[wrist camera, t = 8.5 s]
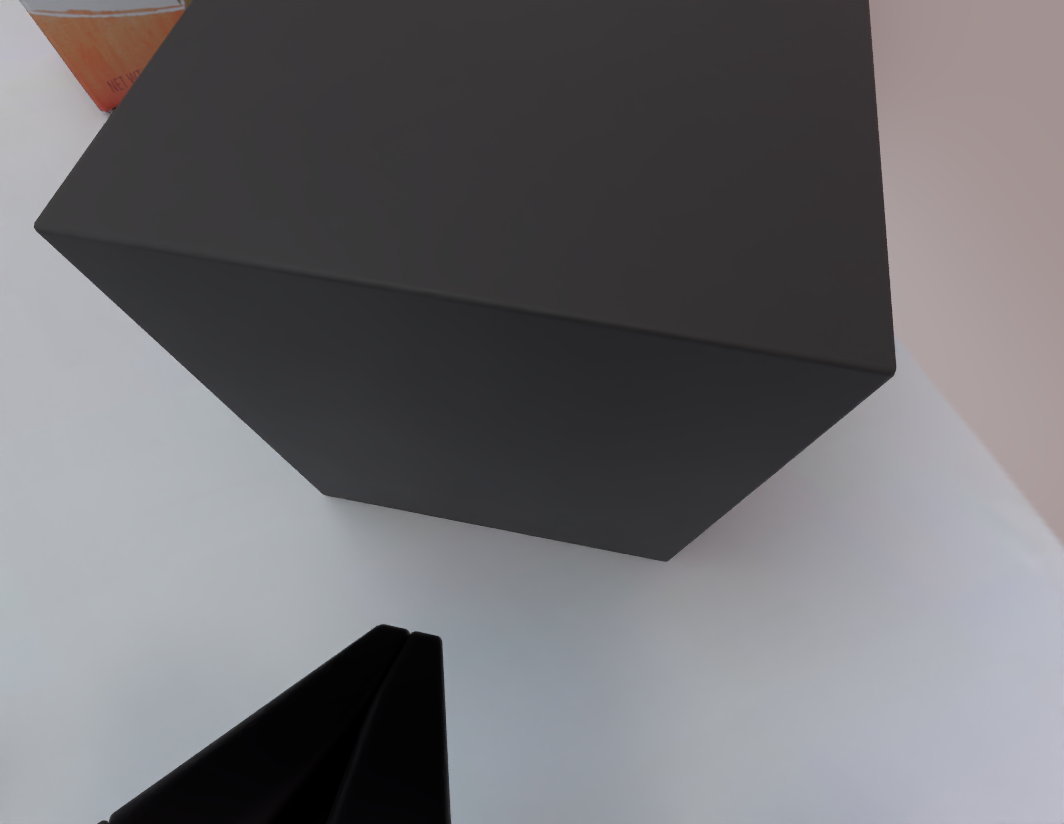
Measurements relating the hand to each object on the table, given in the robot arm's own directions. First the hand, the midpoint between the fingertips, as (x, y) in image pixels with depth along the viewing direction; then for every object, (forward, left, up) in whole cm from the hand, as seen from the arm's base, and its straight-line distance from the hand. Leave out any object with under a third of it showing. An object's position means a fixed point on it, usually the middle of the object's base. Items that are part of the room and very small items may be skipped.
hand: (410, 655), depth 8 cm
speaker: (+3, -11, -8) cm, 14 cm away
